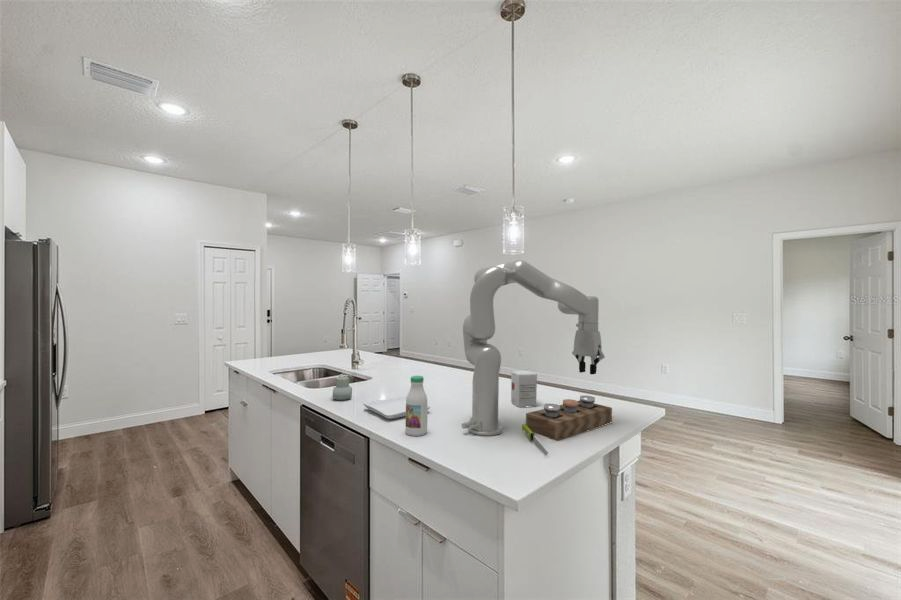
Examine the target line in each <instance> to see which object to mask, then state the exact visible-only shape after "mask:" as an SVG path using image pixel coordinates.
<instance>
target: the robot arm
mask: <svg viewBox="0 0 901 600" xmlns="http://www.w3.org/2000/svg"><path fill="white" fill-rule="evenodd" d="M473 279H474V281H473V282H474V284H473V285H472V288H471V291H470V295H469V296H470V297H469V306H470V307H469V310H470V311H469V312H470V314H469V315H468V316H466V318H465V319H464V321H463V324H462V336H463V348H464V354H465V359H466V360H467V362H468V363H469V364H471V365H472V366H474V369H473V375H472V397H471V398H472V402H471V403H472V405H471V406H472V407H471V408H472V409H471V413H472V415H471V416H472V417H470V418H469V421H468V422H463V423H461V428H462V429H463V430H464V429H467V431H468V432H469V433H471V434H474V435H476V436H477V435H478V436H484V437H486V436H487V437H488V436H498V435H499V434H501V433H502V432H503V427H502V425H501V424H499V391H500V390H499V388H500V387H499V386H500V385H499V384H500V383H499V381H500V370H501V365H502V355H501V353H500V352H501V351H500V350H499V349H498V348H497V347H496V346H495V345H493V344H491V343H488V340H490V339H492V338H493V337H494V335H495V333H496V323H495V322H496V321H495V320H496V319H495V311H494V310H495V309H494V299H495V296H496V293H497V292H498V290H499V289H500V288H501V287H503V286H506V285H509V284H518V285H520V286H521V287H523V288H524V289H526V290H528V291H529V292H530V293H532V294H534V295H535V296H537V297H539V298H542V299H546V300H550V301H554V302H557V308H558V310H559V311H560V313H562V314H565V315H571V316H572V315H577V316H578V318H577V320H578V321H577V323H576V324H575V326H576V327H577V329H576V331H575V335H574V341H573V350H572V352H571V354H572V355H573V356H574V357H575V358H576V360H577V362H578V368H579V371H578V372H579V373H580V374H581V373H585V372H586V362H585V358H586V357H590V363H591V364H589V374H590V375H596V374H597V368H598V367H597V364H599V362H600V361H601V360H603V359H605V357H606V356H605V354H604V353H603V349H602V347H603V346H602V337H601V333H600V331H599V304H600V302H599V298H598V297H597V296H591V295H589V296H588V295H586V294H584V293H583V292H581V291H580V290H579V289H576V288H575V287H573V286H572V285H569V284H566V283H564V282H562V281H559V280H557V279H555V278H552V277H551V276H549V275H547V274H545V273H544V272H542V271H541V270H540V269H538V268H536V267H535V266H533V265H531V264H530V263H528V262H527V261H526V260H523V259H517V260H513V261H512V260H511V261H508V262H505V263H500V264H497V265H492V266H488V267H484V268H480V269H478V270H477V271H476V273H475V274H474V277H473Z"/></svg>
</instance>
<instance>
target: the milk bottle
mask: <svg viewBox="0 0 901 600" xmlns="http://www.w3.org/2000/svg"><path fill="white" fill-rule="evenodd" d="M424 379H425V377H424V376H422V375H412V376H411V377H410V384H411V385H410V387H409V391H408V393H407V396H406V397H407V399H406V416H405V434H407V435H408V436H413V437H417V436H418V437H419V436H420V437H421V436H424V435H426V434H427V432H428V410H427V405H428V396H427V394H426V391H425V388H424Z"/></svg>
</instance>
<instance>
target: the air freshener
mask: <svg viewBox="0 0 901 600" xmlns="http://www.w3.org/2000/svg"><path fill="white" fill-rule="evenodd" d="M335 379H336V380H335V383H336V384H335V387H333V389H332V398H333V399H334V400H336V401H348V400H350V399H351V398H352V396H353V387H352V386H351V385H350V378H349V377H348V376H339V377H337V378H335Z"/></svg>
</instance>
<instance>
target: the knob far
mask: <svg viewBox="0 0 901 600" xmlns="http://www.w3.org/2000/svg"><path fill="white" fill-rule="evenodd" d="M579 400H580V401H581V407H583V408H587V409H592V408H594V403H595V402H596V401H595V400H596V397H594V396H592V395H580V396H579Z"/></svg>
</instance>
